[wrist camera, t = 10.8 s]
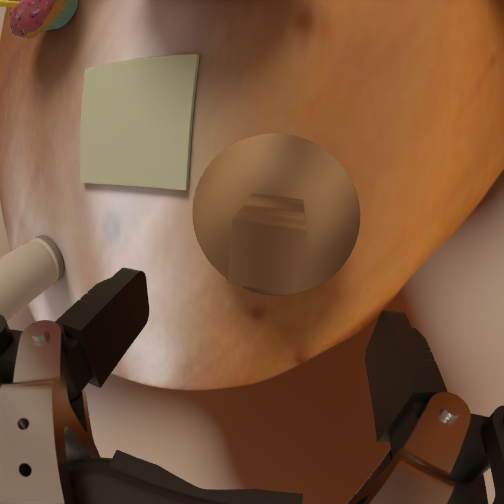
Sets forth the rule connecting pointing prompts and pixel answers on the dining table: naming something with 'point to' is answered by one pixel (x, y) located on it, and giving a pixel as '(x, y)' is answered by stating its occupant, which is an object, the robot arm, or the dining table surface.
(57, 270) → the travel mug
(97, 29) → the dining table surface
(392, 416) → the robot arm
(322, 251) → the lid
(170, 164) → the trivet
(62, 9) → the cupcake
